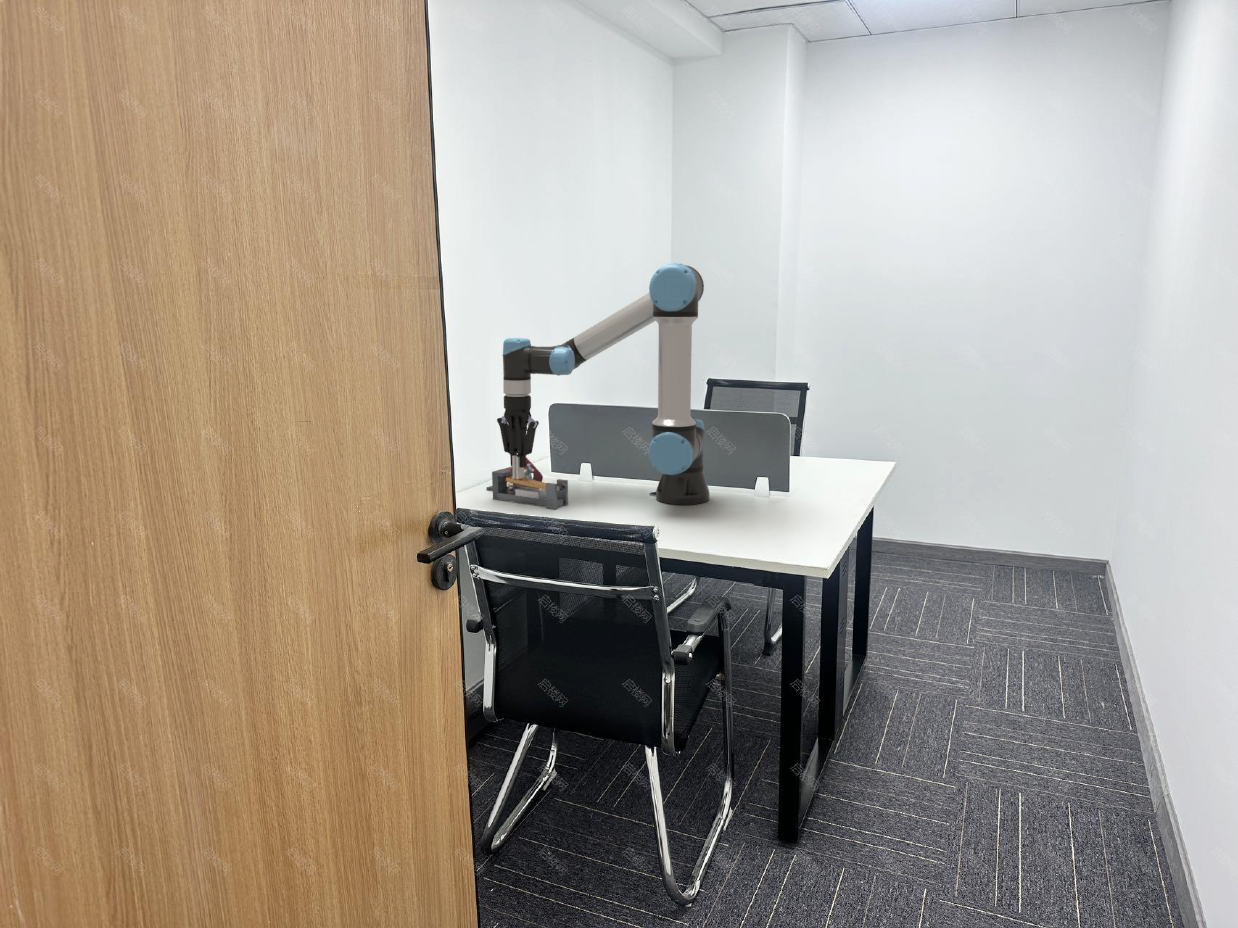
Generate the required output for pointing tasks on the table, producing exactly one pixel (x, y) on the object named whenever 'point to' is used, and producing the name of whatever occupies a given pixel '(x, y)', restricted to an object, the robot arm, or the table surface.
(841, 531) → the table surface
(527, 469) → the brake caliper
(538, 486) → the tan wooden flat bar
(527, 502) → the clip base
